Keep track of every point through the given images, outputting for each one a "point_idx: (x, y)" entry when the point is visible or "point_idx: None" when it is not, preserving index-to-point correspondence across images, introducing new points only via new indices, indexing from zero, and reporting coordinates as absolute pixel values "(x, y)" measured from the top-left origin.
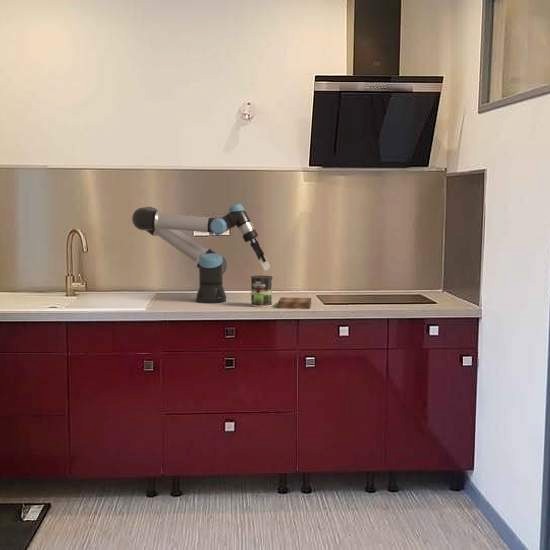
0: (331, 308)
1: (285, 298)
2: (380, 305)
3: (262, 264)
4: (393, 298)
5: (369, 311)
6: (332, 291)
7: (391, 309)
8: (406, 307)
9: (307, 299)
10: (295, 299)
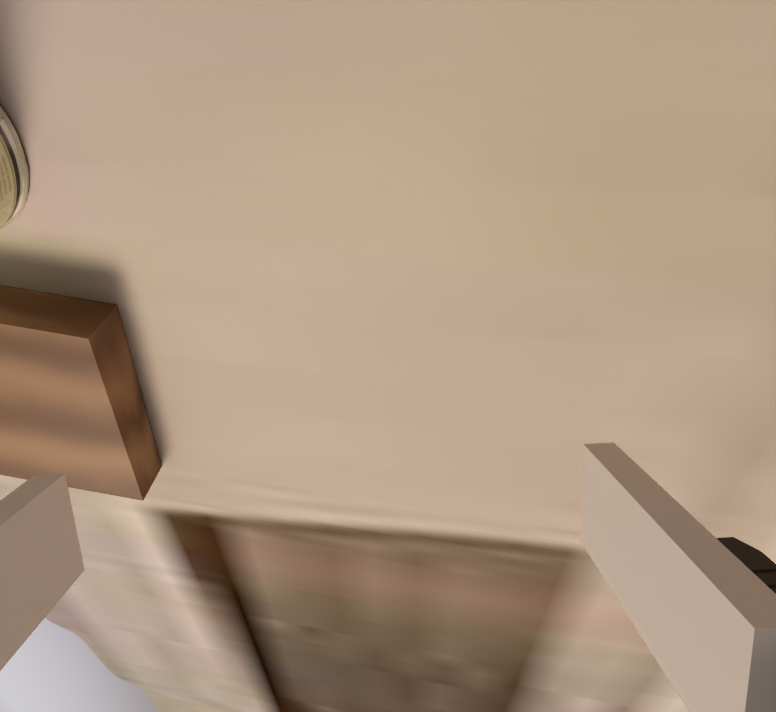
0: None
1: (42, 364)
2: (201, 642)
3: (649, 541)
4: (406, 705)
5: None
6: None
7: (109, 638)
8: (174, 671)
9: (59, 473)
10: (21, 415)
